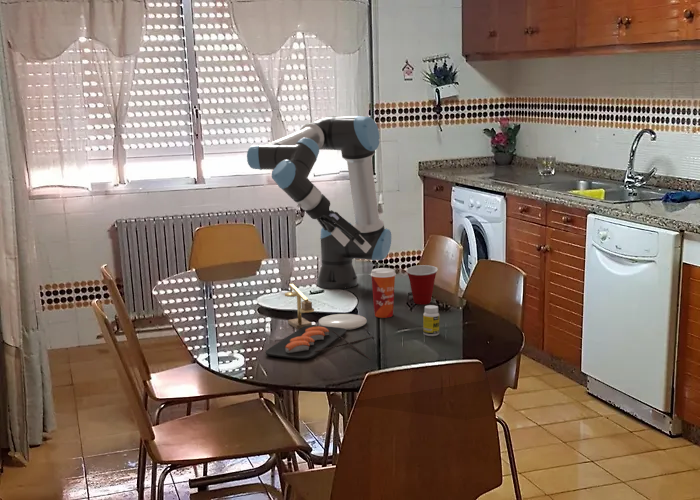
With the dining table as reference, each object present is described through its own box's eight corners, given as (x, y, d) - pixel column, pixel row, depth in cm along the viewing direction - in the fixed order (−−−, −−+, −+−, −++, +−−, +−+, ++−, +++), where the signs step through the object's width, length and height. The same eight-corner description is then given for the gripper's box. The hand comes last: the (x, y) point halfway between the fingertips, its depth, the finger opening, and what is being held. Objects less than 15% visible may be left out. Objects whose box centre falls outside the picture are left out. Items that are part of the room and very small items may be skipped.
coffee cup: (378, 320, 255) (378, 274, 252) (366, 314, 262) (365, 269, 259) (401, 316, 258) (401, 271, 255) (388, 310, 266) (388, 266, 263)
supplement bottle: (434, 337, 236) (434, 309, 234) (420, 335, 238) (420, 307, 237) (441, 333, 240) (441, 305, 238) (427, 330, 242) (427, 303, 241)
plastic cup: (401, 304, 272) (400, 270, 270) (413, 297, 282) (413, 264, 279) (430, 308, 267) (430, 273, 265) (442, 300, 277) (442, 266, 274)
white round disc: (311, 321, 254) (310, 318, 254) (352, 315, 261) (352, 311, 261) (331, 333, 241) (331, 330, 241) (375, 326, 248) (375, 322, 248)
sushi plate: (306, 330, 248) (306, 318, 247) (398, 339, 236) (398, 327, 236) (261, 359, 221) (260, 346, 221) (362, 371, 210) (362, 357, 209)
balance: (282, 320, 257) (281, 283, 255) (297, 317, 259) (295, 281, 257) (302, 332, 243) (301, 294, 241) (317, 330, 245) (316, 292, 243)
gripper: (288, 207, 251) (331, 249, 261) (324, 216, 229) (370, 262, 239) (302, 189, 252) (345, 231, 262) (340, 196, 231) (385, 242, 241)
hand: (357, 246), depth 251 cm, fingers open, 13 cm apart
